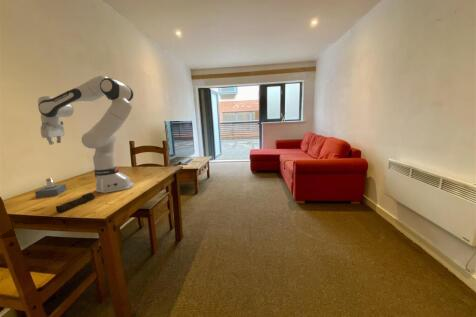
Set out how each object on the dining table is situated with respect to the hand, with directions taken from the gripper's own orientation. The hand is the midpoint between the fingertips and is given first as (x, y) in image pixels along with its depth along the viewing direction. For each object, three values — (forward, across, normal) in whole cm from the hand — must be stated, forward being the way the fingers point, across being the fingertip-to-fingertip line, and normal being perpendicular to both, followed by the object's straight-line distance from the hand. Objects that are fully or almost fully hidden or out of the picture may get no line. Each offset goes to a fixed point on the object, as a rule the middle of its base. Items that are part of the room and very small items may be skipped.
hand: (55, 143), depth 135 cm
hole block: (+31, -10, +3) cm, 33 cm away
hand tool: (+32, -39, -22) cm, 55 cm away
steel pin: (+31, -10, +3) cm, 33 cm away
